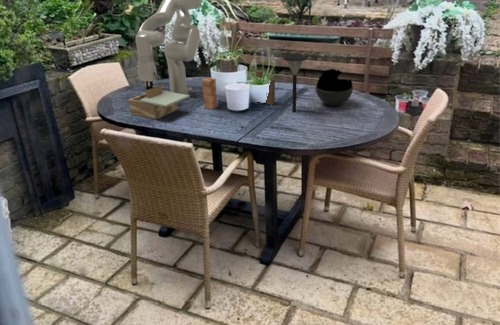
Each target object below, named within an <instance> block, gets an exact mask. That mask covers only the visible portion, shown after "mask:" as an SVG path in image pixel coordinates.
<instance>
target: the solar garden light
mask: <svg viewBox="0 0 500 325" xmlns="http://www.w3.org/2000/svg"><path fill="white" fill-rule="evenodd" d="M282 58H283V59H282V60H284V61H287V64H288V66H289V69H290V72H291V73H292V107H291V108H292V109H291V110H292V113H294V112H295V113H296V112H297V77H298V76H297V75H298V72H299V71H300V69H301V66H302V64H303V62H304V61H307V60H308V57H307V56H304V55H303V54H301V53H290V54H288V55H286V56H284V57H282Z"/></svg>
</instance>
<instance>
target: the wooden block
mask: <svg viewBox="0 0 500 325" xmlns="http://www.w3.org/2000/svg"><path fill="white" fill-rule="evenodd" d="M262 76H263V70H261V69H257V70H256V71H255V78H256V77H259V78H261V77H262ZM269 83H270V85H269V93H268V96H267V95H266V96H267V100H266V103H267V104H273V105H275V104H274V103H276V101H275V100H276V94H275V93H276V79H275V78H273V79H272V80H270V81H269ZM267 104H266V105H267Z"/></svg>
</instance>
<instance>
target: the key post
mask: <svg viewBox="0 0 500 325" xmlns="http://www.w3.org/2000/svg"><path fill="white" fill-rule="evenodd" d="M201 81H202V91H203V95H202V96H203V104H204V109H205V110H210V111H213V110H215V109H217V108H218V99H217V98H218V96H217V83H216V78H212V77H206V78H203V79H202V80H201Z"/></svg>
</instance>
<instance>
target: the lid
mask: <svg viewBox="0 0 500 325" xmlns="http://www.w3.org/2000/svg"><path fill="white" fill-rule="evenodd" d="M145 93H146V96H147V97H146V98H143V99H140V102H144V103H149V104H154V105H158V106H163V107H167V106H170V105H172V104H174V103H177V102H179V103H180V102H181V101H184V100H187V99H186V98H188V99H189V98H190V97H189V95H184V94H179V93H174V92H171V91H168V90H163V86H162V85H158V86H157V85H156V86H154V87H153V88H151V89H148V90H145Z"/></svg>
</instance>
